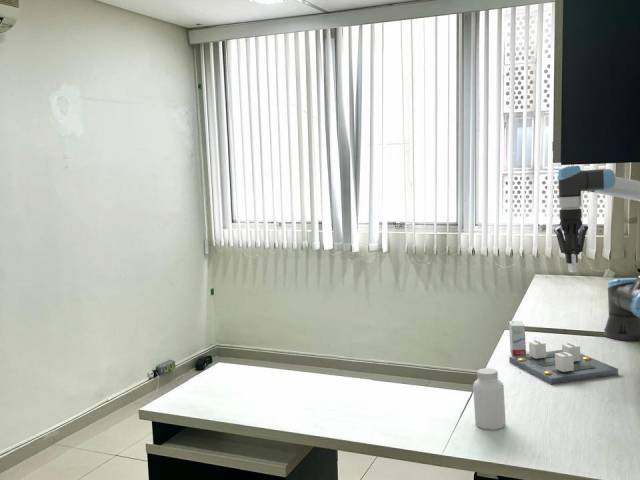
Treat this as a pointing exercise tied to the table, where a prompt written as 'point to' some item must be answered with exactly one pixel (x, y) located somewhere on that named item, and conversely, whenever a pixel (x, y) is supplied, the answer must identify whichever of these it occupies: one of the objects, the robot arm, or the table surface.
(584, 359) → the switch unit
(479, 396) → the pill bottle
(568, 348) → the slider
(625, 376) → the table surface
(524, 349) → the ink box
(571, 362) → the slider
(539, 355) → the slider
